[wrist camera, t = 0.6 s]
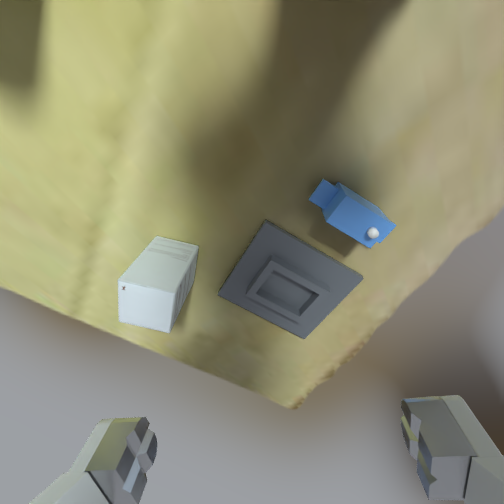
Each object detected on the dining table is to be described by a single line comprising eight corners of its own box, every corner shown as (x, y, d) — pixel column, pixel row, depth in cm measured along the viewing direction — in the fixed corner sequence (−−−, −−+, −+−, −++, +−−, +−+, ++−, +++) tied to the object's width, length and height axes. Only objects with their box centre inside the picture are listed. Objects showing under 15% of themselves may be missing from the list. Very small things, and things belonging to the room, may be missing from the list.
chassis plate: (265, 219, 42) (264, 227, 40) (361, 275, 46) (366, 285, 43) (218, 291, 50) (215, 301, 47) (304, 335, 53) (305, 347, 50)
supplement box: (153, 271, 49) (116, 322, 38) (156, 234, 46) (115, 278, 35) (195, 281, 49) (169, 335, 38) (201, 245, 46) (175, 293, 35)
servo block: (323, 172, 38) (330, 186, 32) (392, 216, 40) (411, 237, 34) (305, 196, 40) (309, 214, 34) (372, 237, 42) (387, 261, 36)
